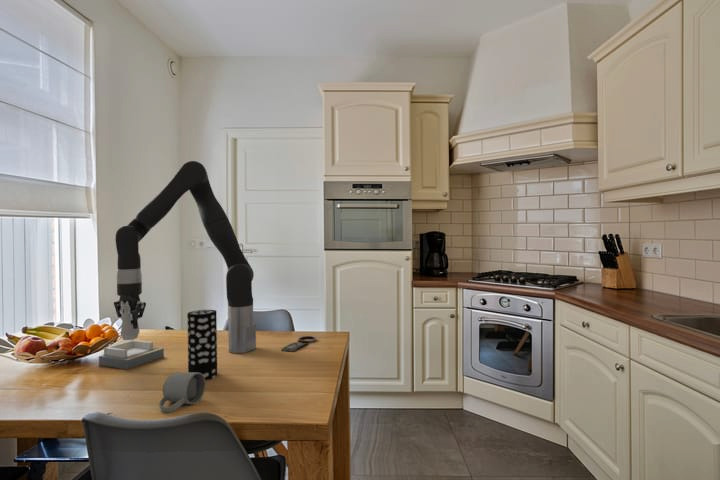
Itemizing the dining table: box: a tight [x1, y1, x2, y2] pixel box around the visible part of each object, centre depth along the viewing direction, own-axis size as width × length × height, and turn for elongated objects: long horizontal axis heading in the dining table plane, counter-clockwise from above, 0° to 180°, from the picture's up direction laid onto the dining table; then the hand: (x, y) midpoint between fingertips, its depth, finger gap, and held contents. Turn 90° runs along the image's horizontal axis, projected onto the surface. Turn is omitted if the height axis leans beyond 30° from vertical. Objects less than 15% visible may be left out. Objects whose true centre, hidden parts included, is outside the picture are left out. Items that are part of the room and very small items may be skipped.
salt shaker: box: [120, 303, 140, 341], centre depth 132 cm, size 6×6×13 cm
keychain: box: [281, 335, 317, 353], centre depth 149 cm, size 8×19×2 cm, turn 158°
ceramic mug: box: [158, 372, 206, 413], centre depth 96 cm, size 11×8×8 cm
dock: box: [98, 339, 165, 370], centre depth 132 cm, size 14×14×6 cm
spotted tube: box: [186, 309, 218, 382], centre depth 115 cm, size 8×8×20 cm
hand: (130, 329), depth 132 cm, fingers closed on salt shaker, 3 cm apart
